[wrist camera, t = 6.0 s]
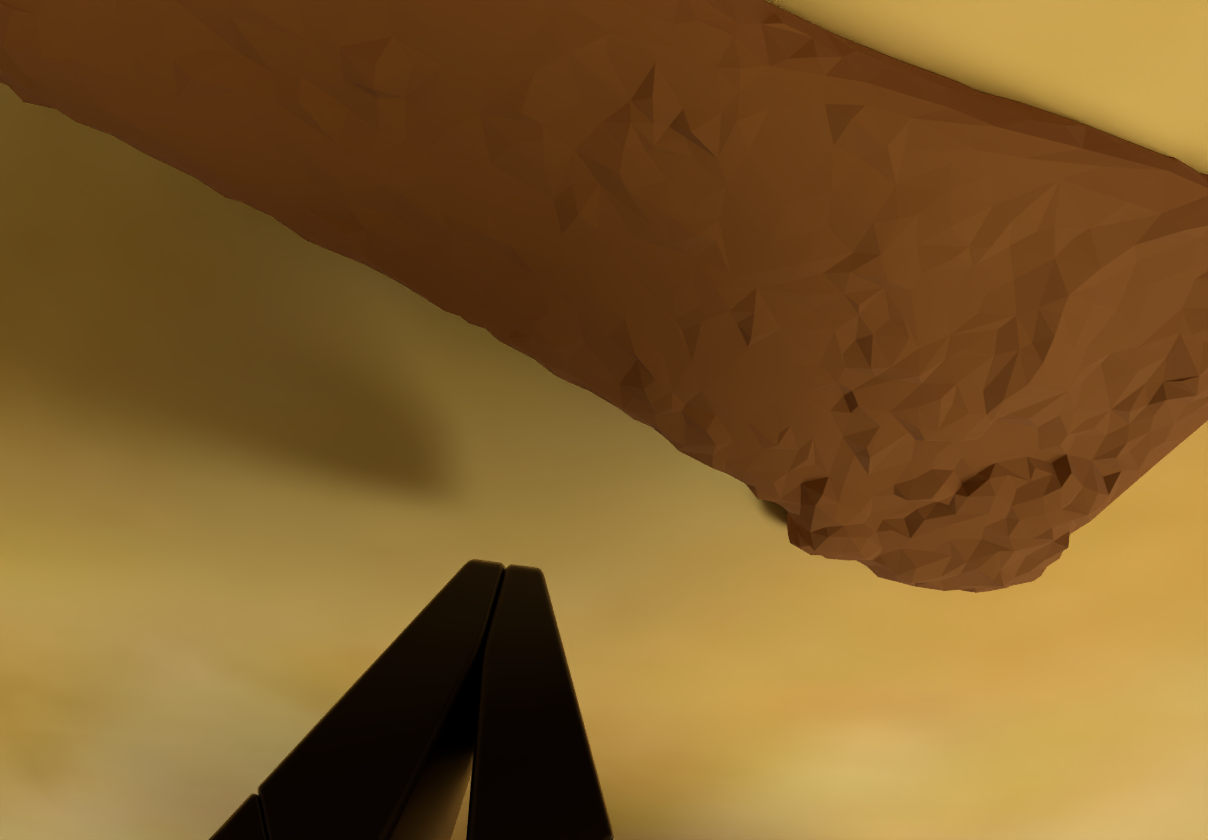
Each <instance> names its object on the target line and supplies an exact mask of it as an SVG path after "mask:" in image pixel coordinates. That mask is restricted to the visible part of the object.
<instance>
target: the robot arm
mask: <svg viewBox="0 0 1208 840" xmlns="http://www.w3.org/2000/svg"><path fill="white" fill-rule="evenodd" d="M471 772H472V777H471V789H470V801H469V813H468V825H467V837H466V840H613V838H614V835H613V831H612V827H611V823H610V819H609V816H608V812H607V808H606V805H605V801H604V797H603V793H602V790H601V786H600V782H599V778H598V775H597V771H596V767H595V764H594V760H593V756H592V752H591V749H590V745H589V741H588V737H587V734H586V730H585V726H584V723H583V719H582V715H581V711H580V708H579V704H578V700H577V696H576V693H575V689H574V685H573V682H572V678H571V674H570V670H569V667H568V663H567V659H566V656H565V652H564V648H563V644H562V641H561V637H560V633H559V629H558V626H557V622H556V618H555V615H554V611H553V607H552V603H551V600H550V596H549V592H548V588H547V585H546V581H545V577H544V574H543V572H542V571H541V569H539V568H535V567H528V566H520V565H509V566H508V567H507V568H506V569H505V566H504V565H503V564H502V563H499V562H491V561H484V560H477V559H473V560H470V561H468V562H467V563H466V564H465V565H464V566H463V567H462V568H461V569H460V570H459V571H458V572H457V573H456V575H455V576H454V577H453V578H452V579H451V580H450V581H449V582H448V583H447V584H446V585H445V586H444V587H443V589H442V590H441V591H440V592H439V593H438V594H437V595H436V596H435V597H434V598H433V599H432V600H431V601H430V603H429V604H428V605H427V606H426V607H425V608H424V609H423V610H422V611H421V612H420V613H419V614H418V615H417V617H416V618H415V619H414V620H413V621H412V622H411V623H410V624H409V625H408V626H407V627H406V628H405V629H404V631H403V632H402V633H401V634H400V635H399V636H398V637H397V638H396V639H395V640H394V641H393V642H392V643H391V645H390V646H389V647H388V648H387V649H386V650H385V651H384V652H383V653H382V654H381V655H380V656H379V657H378V659H377V660H376V661H375V662H374V663H373V664H372V665H371V666H370V667H369V668H368V669H367V670H366V671H365V673H364V674H363V675H362V676H361V677H360V678H359V679H358V680H357V681H356V682H355V683H354V684H353V685H352V687H351V688H350V689H349V690H348V691H347V692H346V693H345V694H344V695H343V696H342V697H341V698H340V700H339V701H338V702H337V703H336V704H335V705H334V706H333V707H332V708H331V709H330V710H329V711H328V712H327V714H326V715H325V716H324V717H323V718H322V719H321V720H320V721H319V722H318V723H317V724H316V725H315V726H314V728H313V729H312V730H311V731H310V732H309V733H308V734H307V735H306V736H305V737H304V738H303V739H302V740H301V742H300V743H299V744H298V745H297V746H296V747H295V748H294V749H293V750H292V751H291V752H290V753H289V754H288V756H287V757H286V758H285V759H284V760H283V761H282V762H281V763H280V764H279V765H278V766H277V767H276V768H275V770H274V771H273V772H272V773H271V774H270V775H269V776H268V777H267V778H266V779H265V780H264V781H263V782H262V784H261V785H260V786H259V787H258V795H257V794H251V795H250V796H249V797H248V798H247V799H246V800H245V801H244V802H243V804H242V805H241V806H240V807H239V808H238V809H237V810H236V811H235V812H234V813H233V814H232V815H231V817H230V818H229V819H228V820H227V821H226V822H225V823H224V824H223V825H222V826H221V827H220V828H219V829H218V830H217V831H216V832H215V833H214V834H213V835H212V837H211V838H210V839H209V840H450V839H451V836H452V832H453V829H454V826H455V823H456V820H457V817H458V814H459V810H460V807H461V804H462V801H463V798H464V795H465V791H466V788H467V785H468V782H469V779H470V775H471ZM258 796H259V797H258Z"/></svg>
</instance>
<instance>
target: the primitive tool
mask: <svg viewBox="0 0 1208 840" xmlns="http://www.w3.org/2000/svg"><path fill="white" fill-rule="evenodd" d="M0 82H2V83H4V84H6V85H8V86H9V87H10V88H11V89H12V90H13V91H14V92H15V93H16V94H17V95H18V96H19V97H20V98H21V99H22V100H23V102H27V103H32V104H36V105H41V106H45V107H50V108H54V109H57V110H59V111H60V112H62V113H64V114H65V115H67V116H68V117H70V118H71V119H73V120H74V121H76V122H78V123H81V124H83V125H86V126H89V127H92V128H94V129H97V130H100V131H103V132H105V133H108V134H111V135H113V136H115V137H116V138H118V139H120V140H122V141H124V142H125V143H127V144H129V145H131V146H132V147H134V148H136V149H138V150H140V151H141V152H143V153H145V154H147V155H149V156H151V157H154V158H156V159H158V160H160V161H162V162H164V163H166V164H168V165H170V166H172V167H174V168H177V169H179V170H181V171H183V172H185V173H187V174H189V175H191V176H193V177H195V178H197V179H198V180H200V181H201V182H203V183H205V184H206V185H208V186H209V187H211V188H212V189H214V190H215V191H217V192H218V193H220V194H221V195H223V196H225V197H227V198H231V199H234V200H238V201H241V202H243V203H245V204H247V205H249V206H251V207H254V208H256V209H258V210H260V211H262V212H264V213H266V214H268V215H271V216H272V217H274V218H275V219H277V220H278V221H279V222H281V223H282V224H284V225H285V226H287V227H288V228H290V229H291V230H293V231H294V232H296V233H297V234H298V235H300V236H301V237H303V238H304V239H306V240H307V241H309V242H312V243H314V244H316V245H319V246H321V247H324V248H326V249H328V250H331V251H333V252H336V253H338V254H341V255H343V256H346V257H348V258H351V259H353V260H356V261H358V262H361V263H363V264H366V265H368V266H369V267H371V268H373V269H375V270H377V271H379V272H381V273H383V274H385V275H387V276H388V277H390V278H392V279H394V280H396V281H398V282H400V283H401V284H403V285H404V286H406V287H408V288H409V289H411V290H412V291H414V292H416V293H417V294H419V295H420V296H422V297H424V298H425V299H427V300H428V301H430V302H432V303H433V304H435V305H436V306H438V307H440V308H441V309H443V310H444V311H447V312H450V313H453V314H456V315H458V316H461V317H462V318H463V319H464V320H466V321H467V322H468V323H471V324H474V325H477V326H480V327H483V328H486V329H487V330H488V331H489V332H490V333H491V334H492V335H493V336H495V337H496V338H497V339H498V340H499V341H501V342H503V343H505V344H506V345H508V346H510V347H512V348H514V349H516V350H518V351H520V352H522V353H524V354H526V355H528V356H530V357H532V358H534V359H535V360H536V361H538V362H539V363H540V364H541V365H543V366H544V367H545V368H547V369H548V370H549V371H550V372H552V373H553V374H554V375H556V376H558V377H560V378H562V379H564V380H566V381H568V382H570V383H572V384H575V385H577V386H579V387H582V388H584V389H587V390H589V391H591V392H592V393H594V394H596V395H597V396H599V397H601V398H603V399H604V400H606V401H608V402H609V403H611V404H613V405H614V406H616V407H618V408H619V409H621V410H622V411H624V412H625V413H626V414H628V415H629V416H630V417H632V418H633V419H635V420H637V421H640V422H642V423H644V424H647V425H649V426H651V427H653V428H654V429H655V430H656V431H658V432H659V433H660V434H661V435H663V436H664V437H665V438H667V439H668V440H669V441H670V442H671V443H672V444H673V445H674V446H675V447H676V448H677V449H678V451H680V452H682V453H684V454H686V455H688V456H690V457H692V458H694V459H696V460H698V461H700V462H702V463H704V464H706V465H708V466H710V467H712V468H714V469H717V470H719V471H722V472H725V473H727V474H729V475H731V476H733V477H734V478H736V479H738V480H740V481H742V482H744V483H745V484H746V485H747V486H748V487H749V488H750V490H751V491H752V492H753V493H754V494H755V496H756V497H757V498H758V499H762V500H767V501H771V502H776V503H777V504H779V505H780V506H782V507H783V508H784V509H785V510H786V511H787V513H788V516H787V528H788V536H789V540H790V543H791V544H793V545H795V546H796V547H798V548H800V549H802V550H803V551H805V552H807V553H809V554H810V555H822V556H824V557H825V558H828V559H840V560H857V561H859V562H861V563H862V564H864V565H866V566H867V567H868V568H870V569H871V570H872V571H873V572H874V573H875V574H876V575H877V576H878V577H881V578H885V579H889V580H892V581H896V582H900V583H904V584H908V585H911V586H916V587H923V588H929V589H936V590H943V591H948V590H963V591H969V592H976V593H977V592H985V591H991V590H997V589H1002V588H1007V587H1009V586H1012V585H1016V584H1021V583H1026V582H1031V581H1034V580H1035V579H1037V578H1038V577H1040V576H1041V575H1042V573H1043V572H1044V570H1045V569H1046V567H1047V566H1048V565H1050V564H1052V563H1053V562H1055V561H1056V560H1058V559H1059V558H1060V556H1061V554H1062V552H1063V550H1065V549H1066V548H1068V544H1069V535H1070V534H1071V533H1072V532H1074V531H1075V530H1077V529H1079V528H1080V527H1082V526H1083V525H1085V524H1087V523H1088V522H1090V521H1091V520H1092V519H1094V518H1095V517H1096V516H1097V515H1098V514H1099V513H1100V512H1101V511H1103V510H1104V509H1105V508H1106V507H1107V506H1108V505H1109V504H1111V503H1112V502H1113V501H1114V500H1115V499H1116V498H1117V497H1119V496H1120V495H1121V494H1122V493H1123V492H1124V491H1125V490H1127V489H1128V488H1129V487H1130V486H1131V485H1132V484H1133V483H1135V482H1136V481H1137V480H1138V479H1139V478H1140V477H1142V476H1143V475H1144V474H1145V473H1146V472H1147V471H1148V470H1150V469H1151V468H1152V467H1153V466H1154V465H1155V464H1156V463H1158V462H1159V461H1160V460H1161V459H1162V458H1164V457H1165V456H1166V455H1167V454H1168V453H1169V452H1171V451H1172V450H1173V449H1174V448H1175V447H1177V446H1178V445H1179V444H1180V443H1181V442H1182V441H1184V440H1185V439H1186V438H1187V437H1188V436H1190V435H1191V434H1192V433H1193V432H1194V431H1196V430H1197V429H1198V428H1199V427H1200V426H1201V425H1203V424H1204V423H1205V422H1206V421H1207V420H1208V175H1206V174H1202V173H1199V172H1197V171H1196V170H1194V169H1192V168H1191V167H1189V166H1187V165H1186V164H1184V163H1182V162H1181V161H1179V160H1177V159H1176V158H1174V157H1172V158H1168V157H1166V156H1163V155H1161V154H1158V153H1156V152H1153V151H1151V150H1148V149H1146V148H1143V147H1141V146H1138V145H1136V144H1133V143H1131V142H1128V141H1125V140H1123V139H1120V138H1117V137H1115V136H1112V135H1110V134H1107V133H1104V132H1102V131H1099V130H1097V129H1094V128H1091V127H1089V126H1086V125H1083V124H1080V123H1078V122H1075V121H1072V120H1069V119H1066V118H1063V117H1061V116H1058V115H1055V114H1052V113H1049V112H1046V111H1043V110H1041V109H1038V108H1035V107H1032V106H1029V105H1026V104H1024V103H1021V102H1017V101H1014V100H1009V99H1005V98H1001V97H997V96H993V95H989V94H985V93H981V92H978V91H976V90H974V89H972V88H970V87H968V86H966V85H964V84H961V83H959V82H957V81H954V80H951V79H948V78H945V77H943V76H940V75H937V74H934V73H932V72H929V71H926V70H923V69H921V68H918V67H915V66H912V65H910V64H907V63H904V62H901V61H898V60H896V59H893V58H891V57H889V56H886V55H884V54H881V53H879V52H876V51H874V50H871V49H869V48H867V47H864V46H862V45H859V44H857V43H854V42H852V41H850V40H847V39H845V38H842V37H840V36H837V35H835V34H833V33H831V32H829V31H827V30H825V29H822V28H820V27H818V26H816V25H814V24H812V23H810V22H808V21H806V20H804V19H802V18H799V17H797V16H795V15H793V14H791V13H789V12H787V11H785V10H783V9H781V8H779V7H777V6H774V5H772V4H770V3H768V2H766V1H764V0H0Z"/></svg>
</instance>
